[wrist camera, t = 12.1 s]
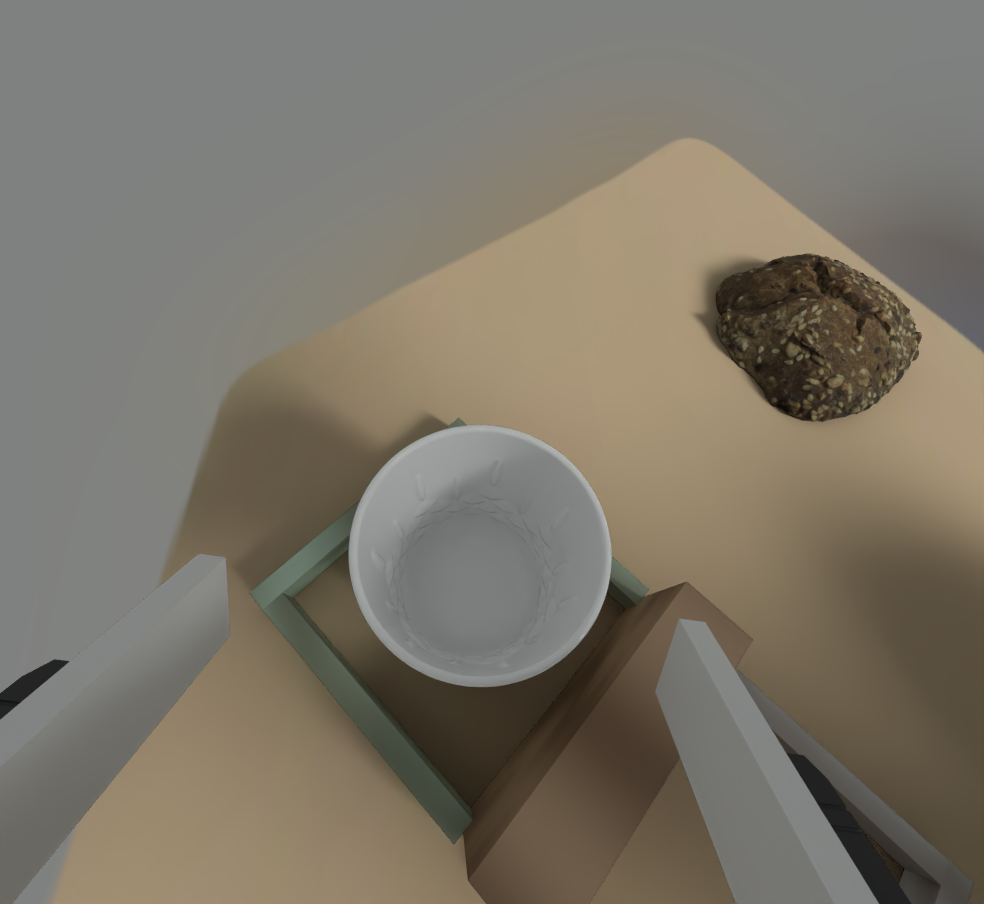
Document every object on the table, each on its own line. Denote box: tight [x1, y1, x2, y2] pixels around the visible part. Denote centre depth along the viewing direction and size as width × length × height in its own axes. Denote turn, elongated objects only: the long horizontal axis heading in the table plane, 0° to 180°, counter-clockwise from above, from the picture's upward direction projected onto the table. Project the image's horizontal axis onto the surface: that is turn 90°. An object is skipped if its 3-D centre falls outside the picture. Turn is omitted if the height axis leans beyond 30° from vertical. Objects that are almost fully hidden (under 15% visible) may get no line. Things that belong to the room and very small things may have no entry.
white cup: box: [349, 425, 612, 687], centre depth 18 cm, size 8×8×10 cm
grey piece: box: [249, 418, 974, 904], centre depth 18 cm, size 13×29×6 cm, turn 46°
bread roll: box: [716, 254, 922, 422], centre depth 30 cm, size 13×12×5 cm
